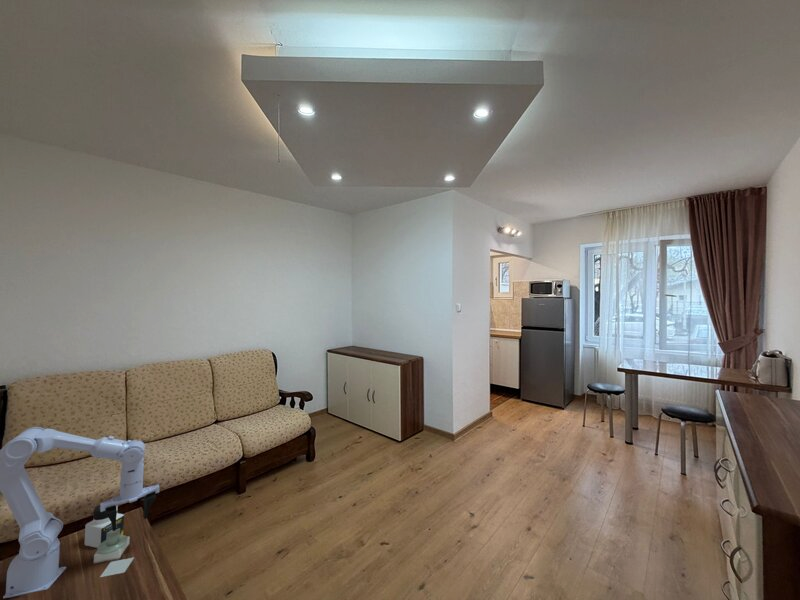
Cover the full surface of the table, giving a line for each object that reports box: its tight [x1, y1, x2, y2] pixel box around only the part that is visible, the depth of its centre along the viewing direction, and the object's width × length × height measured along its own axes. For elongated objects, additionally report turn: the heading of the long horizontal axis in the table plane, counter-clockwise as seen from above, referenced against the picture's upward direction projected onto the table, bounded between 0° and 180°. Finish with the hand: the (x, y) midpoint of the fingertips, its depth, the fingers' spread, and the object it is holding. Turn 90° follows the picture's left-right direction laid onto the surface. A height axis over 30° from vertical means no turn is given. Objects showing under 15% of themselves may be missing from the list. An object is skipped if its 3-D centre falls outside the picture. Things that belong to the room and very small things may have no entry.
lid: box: [97, 529, 128, 554], centre depth 101 cm, size 7×7×4 cm
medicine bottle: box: [84, 504, 125, 549], centre depth 108 cm, size 7×7×12 cm
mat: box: [99, 556, 135, 578], centre depth 96 cm, size 6×6×1 cm
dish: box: [93, 536, 130, 564], centre depth 101 cm, size 6×6×3 cm
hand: (130, 523), depth 102 cm, fingers open, 7 cm apart
